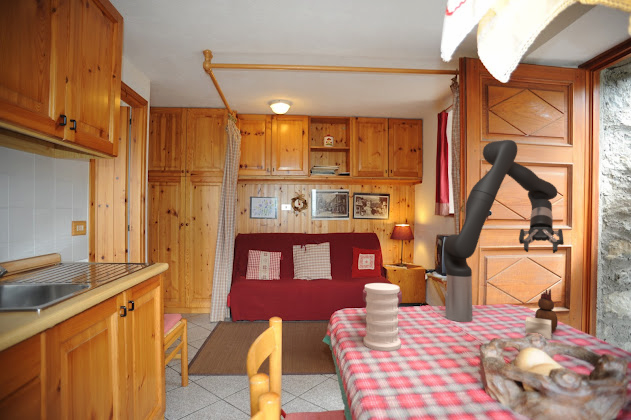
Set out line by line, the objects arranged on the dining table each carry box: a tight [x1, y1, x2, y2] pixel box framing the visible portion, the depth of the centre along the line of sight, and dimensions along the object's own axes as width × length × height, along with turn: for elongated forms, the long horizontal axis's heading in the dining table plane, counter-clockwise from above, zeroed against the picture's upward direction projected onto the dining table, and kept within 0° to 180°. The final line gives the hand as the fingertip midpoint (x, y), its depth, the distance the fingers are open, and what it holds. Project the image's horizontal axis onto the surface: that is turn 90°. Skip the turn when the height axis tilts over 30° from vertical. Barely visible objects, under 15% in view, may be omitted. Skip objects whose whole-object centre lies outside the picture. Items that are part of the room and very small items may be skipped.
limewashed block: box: [524, 316, 552, 340], centre depth 109 cm, size 7×6×5 cm
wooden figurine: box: [534, 288, 559, 333], centre depth 114 cm, size 7×6×15 cm
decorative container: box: [363, 282, 402, 352], centre depth 102 cm, size 12×12×18 cm
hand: (540, 251), depth 123 cm, fingers open, 8 cm apart
